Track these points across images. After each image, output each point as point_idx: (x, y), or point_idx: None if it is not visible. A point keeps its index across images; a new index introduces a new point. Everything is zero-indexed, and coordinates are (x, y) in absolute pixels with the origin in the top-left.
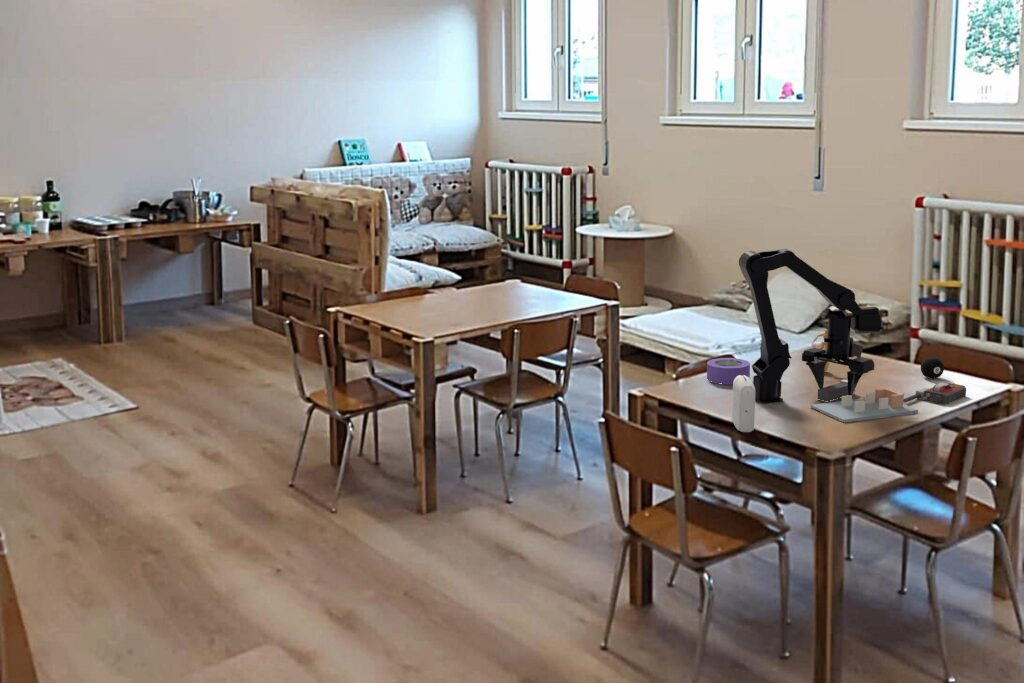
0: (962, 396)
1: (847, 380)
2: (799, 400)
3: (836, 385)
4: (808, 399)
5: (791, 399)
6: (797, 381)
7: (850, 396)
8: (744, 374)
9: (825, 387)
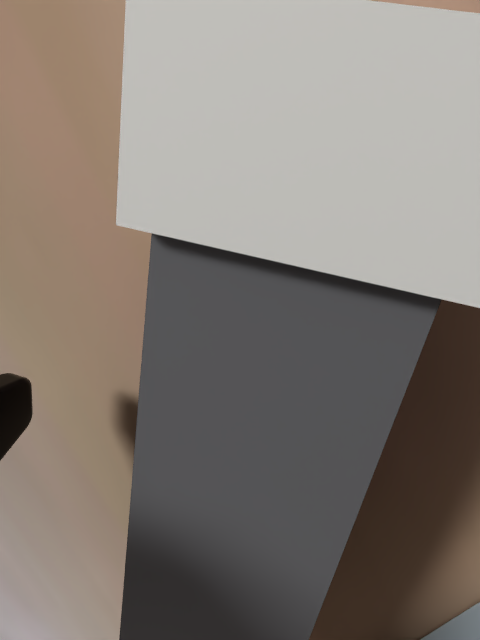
0: None
1: (263, 41)
2: (69, 621)
3: (203, 493)
4: (101, 581)
5: (17, 612)
6: None
7: None
8: None
9: (133, 638)
